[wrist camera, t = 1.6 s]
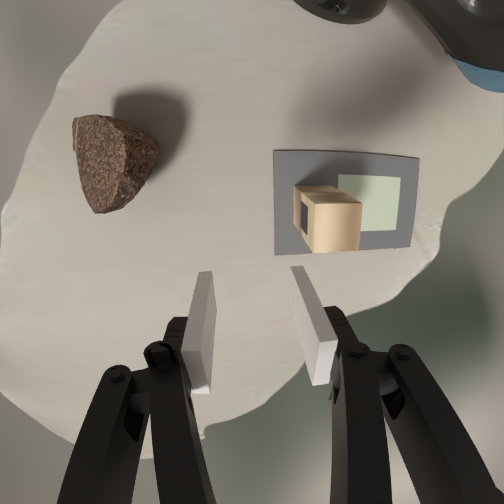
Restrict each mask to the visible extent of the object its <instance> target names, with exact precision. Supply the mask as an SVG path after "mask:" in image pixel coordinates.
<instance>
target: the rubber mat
mask: <svg viewBox="0 0 504 504" xmlns="http://www.w3.org/2000/svg"><path fill="white" fill-rule="evenodd" d="M273 171H274V224H275V255H292V254H308V253H312V251H311V249H310V248H309V246H308V245H307V243H306V242H305V240H304V239H303V237H302V235H301V234H300V232H299V231H298V229H297V228H296V226H295V225H294V223H293V220H294V186H312V185H331V186H333V187H334V188H336V189H338V190H340V191H342V192H344V193H345V194H347V195H349V196H351V197H353V198H354V199H356V200H358V201H360V202H361V203H363V209H362V221H361V232H360V241H359V250H372V249H388V248H403V247H410V243H411V237H412V231H413V224H414V216H415V208H416V199H417V189H418V176H419V159H416V158H408V157H399V156H389V155H379V154H366V153H351V152H330V151H273Z"/></svg>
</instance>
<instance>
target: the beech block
mask: <svg viewBox="0 0 504 504" xmlns="http://www.w3.org/2000/svg"><path fill="white" fill-rule="evenodd" d="M362 209H363V203H361V202H360V201H358V200H356V199H354V198H353V197H351V196H349V195H347V194H345V193H344V192H342V191H340V190H338V189H336V188H334V187H333V186H331V185H312V186H294V220H293V223H294V225H295V226H296V228H297V229H298V231H299V232H300V234H301V235H302V237H303V239H304V240H305V242H306V243H307V245H308V246H309V248H310V249H311V251H312V253H327V252H343V251H358V250H359V241H360V232H361V221H362Z"/></svg>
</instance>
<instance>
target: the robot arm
mask: <svg viewBox="0 0 504 504" xmlns="http://www.w3.org/2000/svg"><path fill="white" fill-rule="evenodd" d="M294 1H295V2H296V3H297V4H298V5H300V6H301V7H302V8H304V9H305V10H307V11H309V12H310V13H312V14H314V15H316V16H318V17H321V18H323V19H326V20H329V21H332V22H337V23H342V24H359V23H364V22H367V21H369V20H371V19H372V18H374V17H375V16H376V15H378V14H379V13H380V12H381V11H382V10H383V8H384V7H385V4H386V1H387V0H294ZM403 1H404V2H405V3H406V4H407V5H408V6H409V7H410V9H411V10H412V11H413V12H414V13H415V14H416V15H417V16H418V17H419V18H420V19H421V20H422V22H423V23H424V24H425V25H426V26H427V27H428V29H429V30H430V31H431V32H432V34H433V35H434V36H435V37H436V39H437V40H438V41H439V43H440V44H441V45H442V47H443V48H444V50H445V53H446V54H447V55H448V56H449V57H450V58H451V59H452V60H453V61H454V62H455V64H456V65H457V66H458V68H459V69H460V71H461V72H462V73H463V75H464V76H465V77H466V78H467V79H468V80H469V81H470V82H471V83H473V84H474V85H476V86H479V87H480V88H482V89H485V90H488V91H492V92H499V93H504V0H403ZM289 307H290V311H291V314H292V317H293V321H294V324H295V327H296V331H297V334H298V337H299V341H300V344H301V348H302V351H303V355H304V358H305V362H306V365H307V368H308V372H309V375H310V379H311V382H312V386H315V385H321V384H328V383H329V379H330V376H331V379H332V381H333V386H332V390H331V393H330V397H329V400H331V399H332V472H331V491H330V492H331V493H330V504H392V490H391V476H390V463H389V453H388V445H387V437H386V429H385V422H384V417H385V419H386V422H387V424H388V426H389V428H390V430H391V433H392V435H393V437H394V439H395V442H396V444H397V446H398V449H399V451H400V453H401V456H402V458H403V461H404V463H405V465H406V468H407V470H408V473H409V475H410V478H411V480H412V482H413V485H414V487H415V490H416V493H417V495H418V498H419V500H420V504H504V494H503V493H502V492H501V491H500V490H499V489H498V488H496V487H495V484H494V482H493V480H492V478H491V476H490V474H489V472H488V470H487V468H486V466H485V464H484V462H483V460H482V458H481V456H480V454H479V452H478V450H477V448H476V447H475V445H474V443H473V441H472V440H471V438H470V436H469V434H468V432H467V431H466V429H465V428H464V426H463V424H462V422H461V420H460V419H459V417H458V415H457V414H456V412H455V410H454V409H453V407H452V406H451V404H450V402H449V401H448V399H447V398H446V396H445V395H444V393H443V391H442V390H441V388H440V387H439V385H438V384H437V382H436V381H435V379H434V378H433V376H432V375H431V373H430V372H429V370H428V369H427V367H426V366H425V364H424V363H423V362H422V360H421V359H420V357H419V356H418V354H417V353H416V352H415V351H414V349H413V348H412V347H410V346H408V345H405V344H396V345H393V346H392V347H391V348H390V349H389V352H375V351H371V350H370V349H369V347H368V346H367V345H366V344H364V343H361V342H359V341H358V339H357V337H356V335H355V333H354V331H353V329H352V328H351V326H350V324H349V322H348V320H347V319H346V317H345V315H344V313H343V311H342V310H340V309H339V308H338V307H336V306H330V307H323V306H322V304H321V302H320V300H319V298H318V296H317V294H316V291H315V289H314V287H313V285H312V283H311V281H310V279H309V277H308V275H307V273H306V271H305V269H304V267H303V266H292V267H290V292H289ZM216 312H217V309H216V301H215V293H214V285H213V276H212V271H208V272H199V274H198V278H197V282H196V286H195V290H194V294H193V298H192V303H191V307H190V311H189V316H188V317H173V319H172V320H171V321H170V322H169V323H168V325H167V328H166V332H165V335H164V338H163V341H156V342H153V343H151V344H150V345H148V346H147V347H146V348H145V350H144V353H143V354H144V357H145V359H146V362H147V364H148V368H146V369H142V370H137V371H132V372H131V371H130V369H129V368H128V367H127V366H124V365H115V366H112V367H110V368H108V369H107V370H106V371H105V373H104V374H103V376H102V378H101V381H100V383H99V385H98V388H97V390H96V392H95V395H94V397H93V399H92V402H91V404H90V407H89V409H88V412H87V414H86V417H85V419H84V422H83V424H82V427H81V430H80V432H79V435H78V438H77V440H76V443H75V446H74V449H73V452H72V455H71V458H70V461H69V464H68V467H67V470H66V473H65V476H64V480H63V483H62V487H61V490H60V494H59V497H58V501H57V504H131V502H132V496H133V490H134V485H135V480H136V474H137V469H138V464H139V459H140V454H141V450H142V445H143V440H144V436H145V431H146V427H147V423H148V419H149V414H150V418H151V433H152V445H153V455H154V464H155V472H156V480H157V486H158V493H159V499H160V504H216V500H215V497H214V494H213V490H212V486H211V483H210V479H209V475H208V472H207V467H206V463H205V459H204V455H203V451H202V446H201V442H200V437H199V433H198V428H197V423H196V418H195V413H194V408H193V403H192V399H191V396H190V393H191V388H192V391H193V394H210V389H211V374H212V360H213V347H214V335H215V323H216ZM383 415H384V416H383Z"/></svg>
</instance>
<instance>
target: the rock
mask: <svg viewBox="0 0 504 504" xmlns="http://www.w3.org/2000/svg"><path fill="white" fill-rule="evenodd" d="M72 128H73V150H74V151H75V152H76V156H77V164H78V169H79V175H80V181H81V185H82V189H83V192H84V195H85V197H86V200H87V202H88V204H89V206H90V207H91V208H92V210H93V212H94V213H103V214H105V213H108V212H112V211H115V210H119V209H121V208H124V206H125V205H126V204H127V203H128V202H130V201H131V200H133V199H134V197H135V196H136V195H137V193H138V192H139V191H140V189H141V188H142V187H143V186H144V184H145V181H146V179H147V177H148V175H149V173H150V171H151V169H152V167H153V166H154V164H155V162H156V161H157V159H158V157H159V156H160V154H161V151H160V149H159V148H158V147H157V144H156V142H155V141H154V140H153V139H151V138H150V137H149V136H147V135H145V134H143V133H141V132H140V130H138V129H135V128H133V127H132V126H130V125H129V124H127V123H125V122H123V121H122V120H117V119H114V118H112V117H110V116H101V115H87V116H83V117H78V118H74V121H73V125H72Z"/></svg>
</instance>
